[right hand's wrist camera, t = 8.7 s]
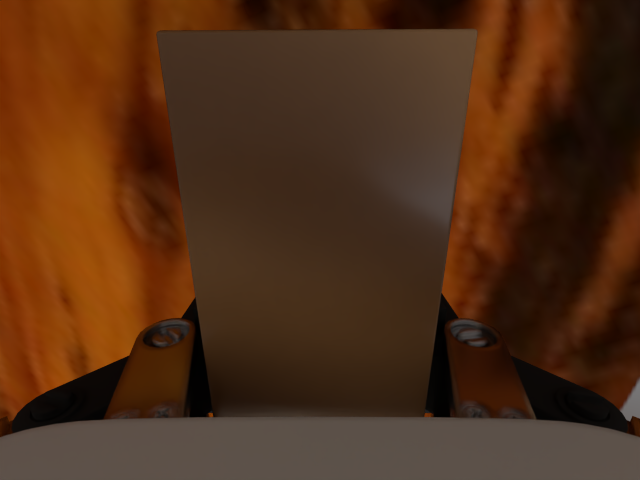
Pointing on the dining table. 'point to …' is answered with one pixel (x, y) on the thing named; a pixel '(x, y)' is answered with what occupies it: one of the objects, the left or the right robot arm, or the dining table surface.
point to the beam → (317, 209)
